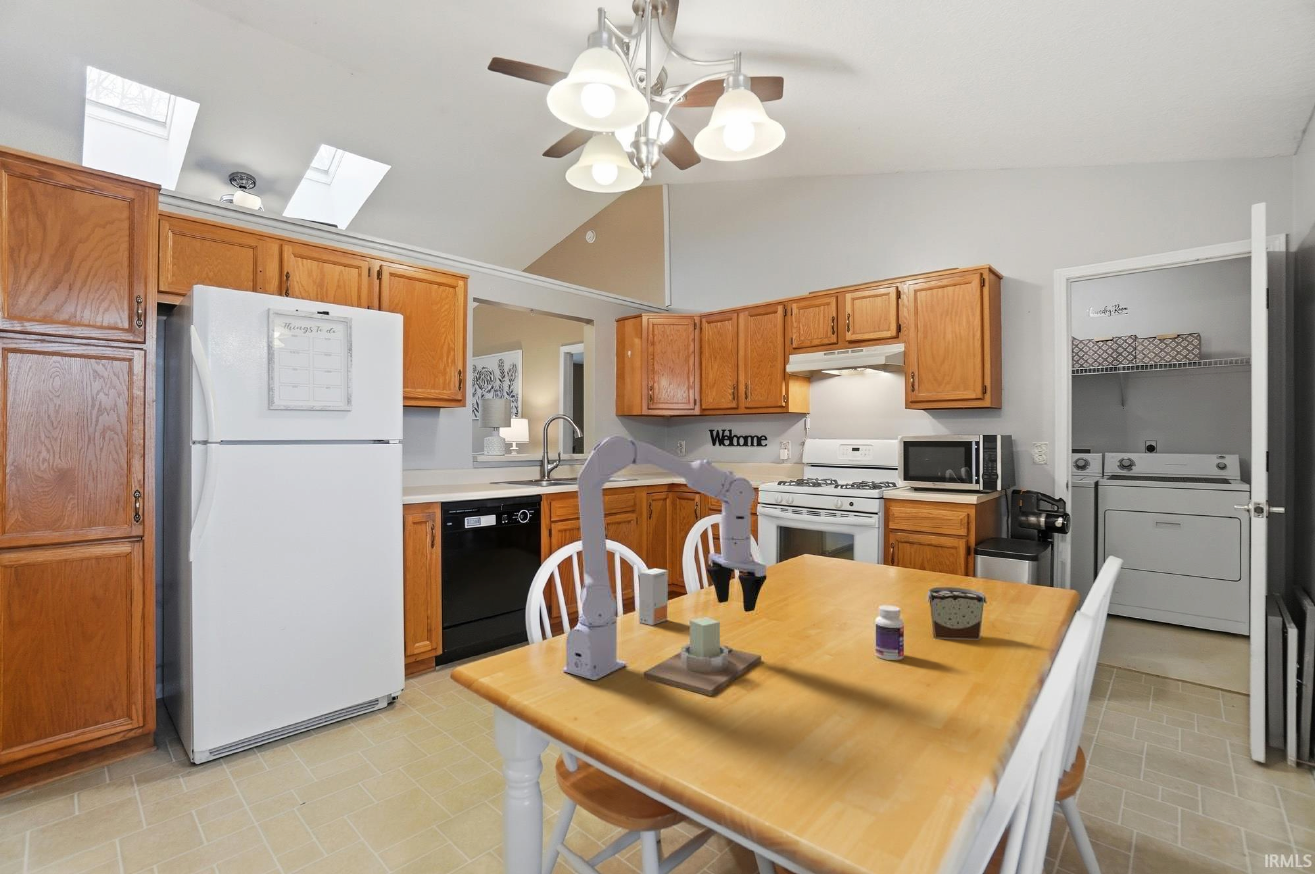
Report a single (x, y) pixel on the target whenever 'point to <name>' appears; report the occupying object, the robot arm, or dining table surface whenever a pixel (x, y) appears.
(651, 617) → the skincare box
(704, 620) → the sage peg
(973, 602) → the food container
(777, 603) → the dining table surface
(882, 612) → the pill bottle
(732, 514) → the robot arm
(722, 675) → the cup bracket
